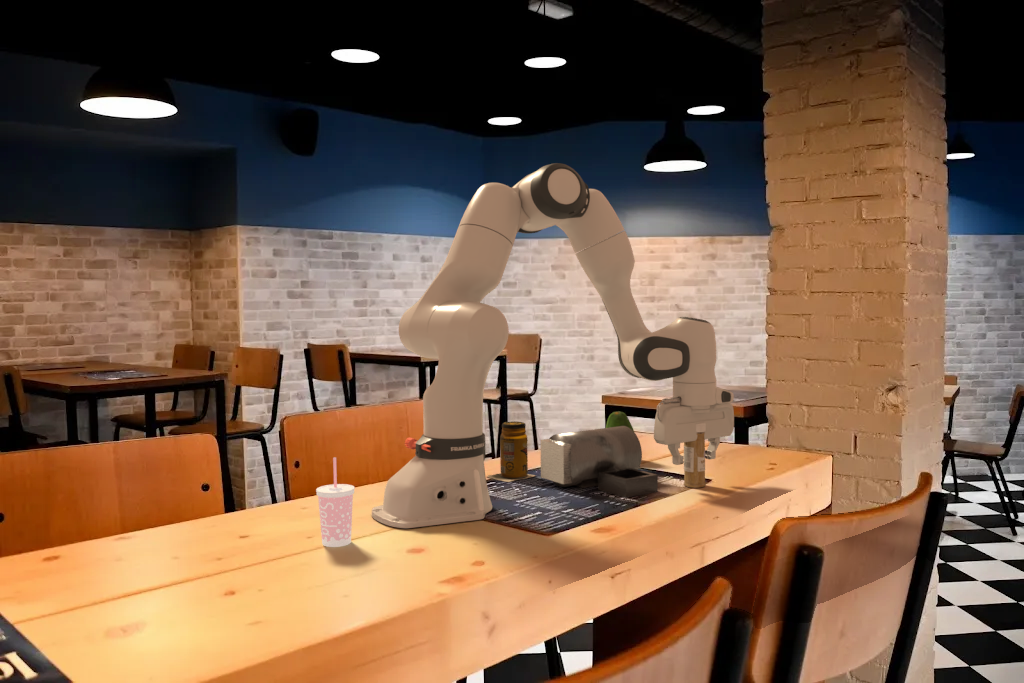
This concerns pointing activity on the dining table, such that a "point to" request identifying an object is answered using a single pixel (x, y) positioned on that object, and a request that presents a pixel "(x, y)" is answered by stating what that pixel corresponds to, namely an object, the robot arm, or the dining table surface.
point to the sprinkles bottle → (695, 459)
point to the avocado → (618, 420)
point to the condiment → (513, 453)
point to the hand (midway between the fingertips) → (694, 461)
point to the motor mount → (597, 461)
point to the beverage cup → (335, 512)
